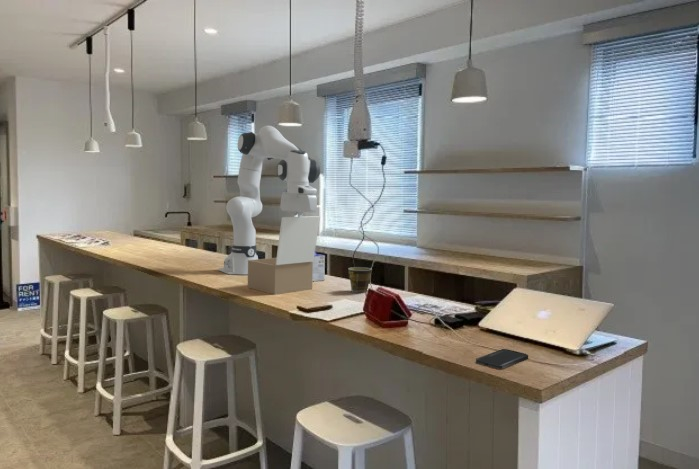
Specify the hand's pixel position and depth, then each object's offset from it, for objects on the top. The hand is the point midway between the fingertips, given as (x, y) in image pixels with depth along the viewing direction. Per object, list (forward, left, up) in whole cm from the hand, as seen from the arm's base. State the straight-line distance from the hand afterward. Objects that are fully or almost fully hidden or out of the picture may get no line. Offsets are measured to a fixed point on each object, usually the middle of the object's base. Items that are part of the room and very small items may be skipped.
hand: (297, 222), depth 226 cm
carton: (-12, 0, -30) cm, 32 cm away
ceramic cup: (+15, +21, -30) cm, 39 cm away
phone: (+105, -14, -30) cm, 110 cm away
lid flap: (0, 0, -7) cm, 7 cm away
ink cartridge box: (-19, +25, -30) cm, 43 cm away
